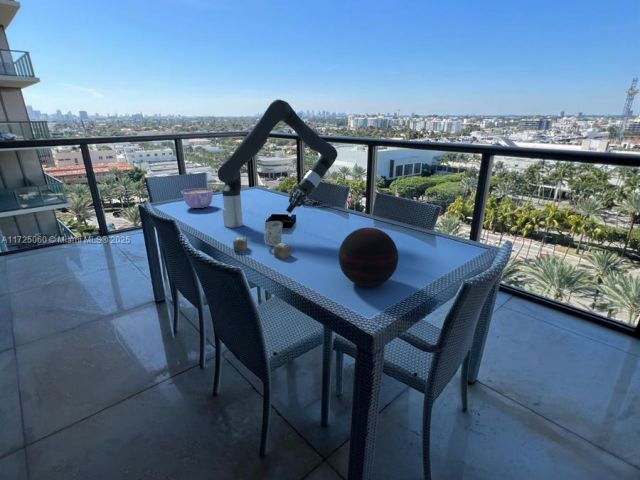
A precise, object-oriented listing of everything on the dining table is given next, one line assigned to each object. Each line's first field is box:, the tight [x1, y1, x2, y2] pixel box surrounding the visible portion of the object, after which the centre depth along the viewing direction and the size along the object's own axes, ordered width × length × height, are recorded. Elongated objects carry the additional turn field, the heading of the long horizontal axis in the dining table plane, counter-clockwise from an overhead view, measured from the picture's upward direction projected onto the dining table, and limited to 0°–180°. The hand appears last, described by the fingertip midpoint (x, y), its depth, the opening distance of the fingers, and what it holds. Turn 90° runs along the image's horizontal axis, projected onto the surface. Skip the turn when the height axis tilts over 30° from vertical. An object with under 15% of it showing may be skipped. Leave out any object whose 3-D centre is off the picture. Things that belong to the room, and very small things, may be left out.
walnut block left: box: [232, 236, 248, 253], centre depth 145 cm, size 5×5×5 cm
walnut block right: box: [273, 242, 292, 260], centre depth 137 cm, size 5×5×5 cm
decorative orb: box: [338, 227, 399, 288], centre depth 111 cm, size 20×20×20 cm
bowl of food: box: [181, 187, 214, 209], centre depth 217 cm, size 20×20×12 cm
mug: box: [263, 220, 284, 247], centre depth 148 cm, size 8×13×10 cm, turn 160°
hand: (288, 211), depth 151 cm, fingers closed
